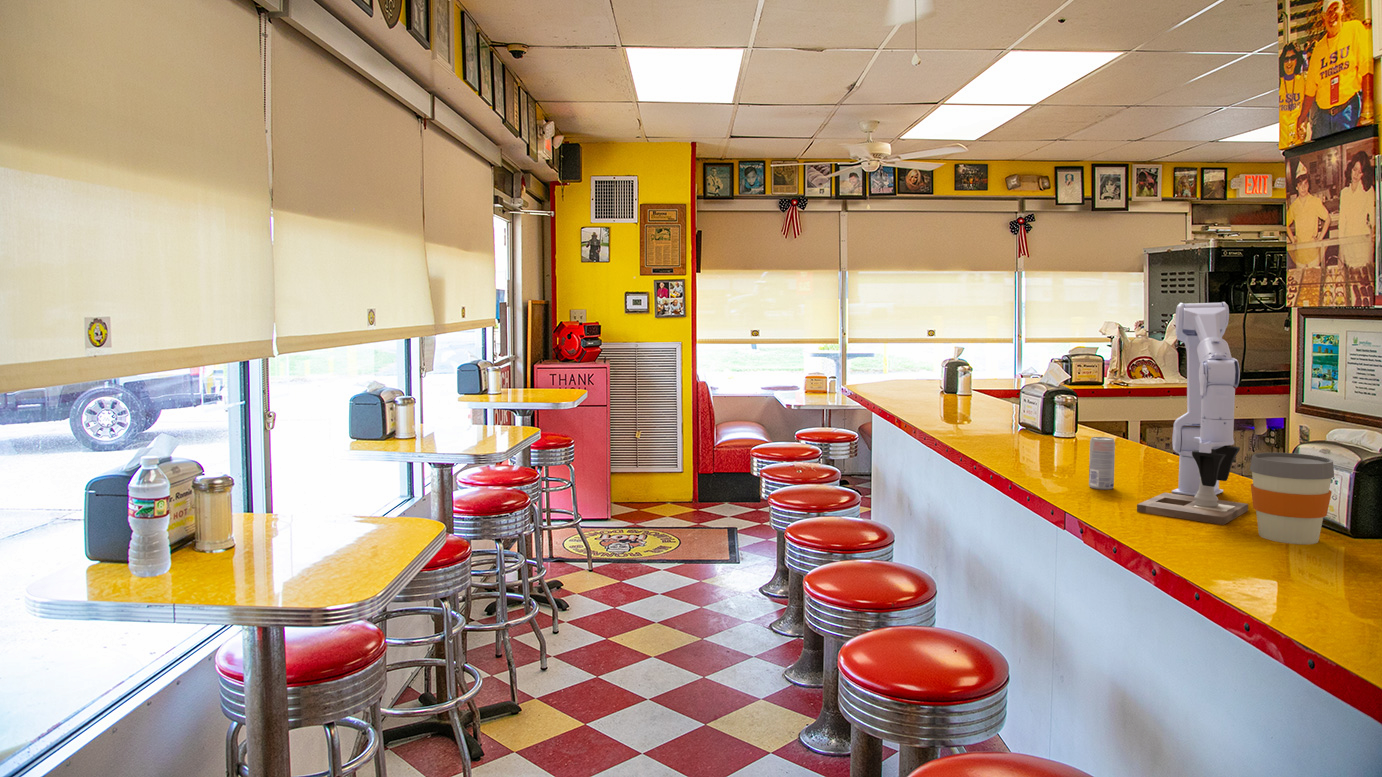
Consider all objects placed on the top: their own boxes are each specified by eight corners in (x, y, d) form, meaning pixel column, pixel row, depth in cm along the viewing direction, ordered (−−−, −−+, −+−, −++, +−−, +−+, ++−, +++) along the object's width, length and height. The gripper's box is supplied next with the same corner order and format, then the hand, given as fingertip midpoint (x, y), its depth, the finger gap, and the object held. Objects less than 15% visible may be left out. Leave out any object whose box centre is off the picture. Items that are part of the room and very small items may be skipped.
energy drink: (1108, 485, 198) (1109, 436, 197) (1117, 489, 193) (1118, 440, 192) (1085, 485, 198) (1086, 436, 197) (1094, 489, 193) (1095, 440, 192)
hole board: (1164, 499, 182) (1164, 491, 182) (1247, 510, 170) (1248, 502, 170) (1136, 511, 172) (1137, 503, 172) (1223, 524, 160) (1223, 516, 160)
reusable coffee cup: (1255, 525, 159) (1258, 450, 158) (1336, 536, 150) (1340, 457, 149) (1240, 538, 150) (1243, 459, 149) (1325, 551, 141) (1329, 466, 140)
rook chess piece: (1214, 503, 170) (1215, 465, 170) (1221, 508, 166) (1223, 469, 165) (1190, 502, 172) (1191, 465, 171) (1197, 507, 167) (1198, 469, 167)
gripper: (1206, 413, 174) (1204, 475, 175) (1183, 420, 164) (1180, 485, 166) (1245, 415, 169) (1242, 479, 170) (1223, 423, 159) (1220, 490, 160)
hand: (1214, 483), depth 167 cm, fingers open, 7 cm apart
